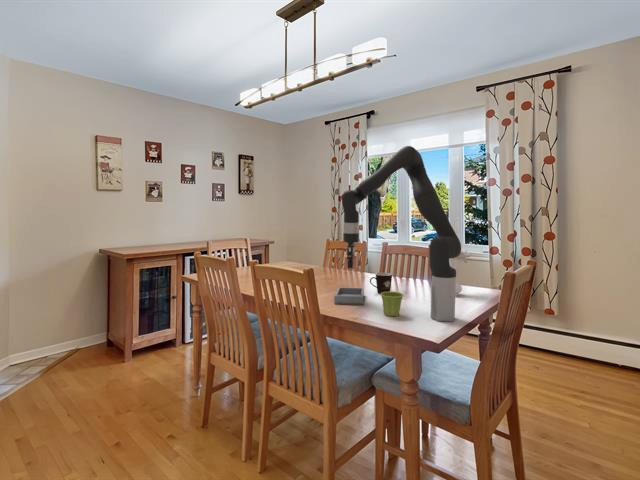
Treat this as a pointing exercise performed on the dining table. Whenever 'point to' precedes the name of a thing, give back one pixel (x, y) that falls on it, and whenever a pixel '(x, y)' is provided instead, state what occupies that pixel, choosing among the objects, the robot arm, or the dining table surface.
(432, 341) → the dining table surface
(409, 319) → the dining table surface
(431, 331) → the dining table surface
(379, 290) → the coffee mug
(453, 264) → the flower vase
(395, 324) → the dining table surface
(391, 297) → the plant pot
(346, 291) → the gray tray
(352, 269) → the terracotta block
